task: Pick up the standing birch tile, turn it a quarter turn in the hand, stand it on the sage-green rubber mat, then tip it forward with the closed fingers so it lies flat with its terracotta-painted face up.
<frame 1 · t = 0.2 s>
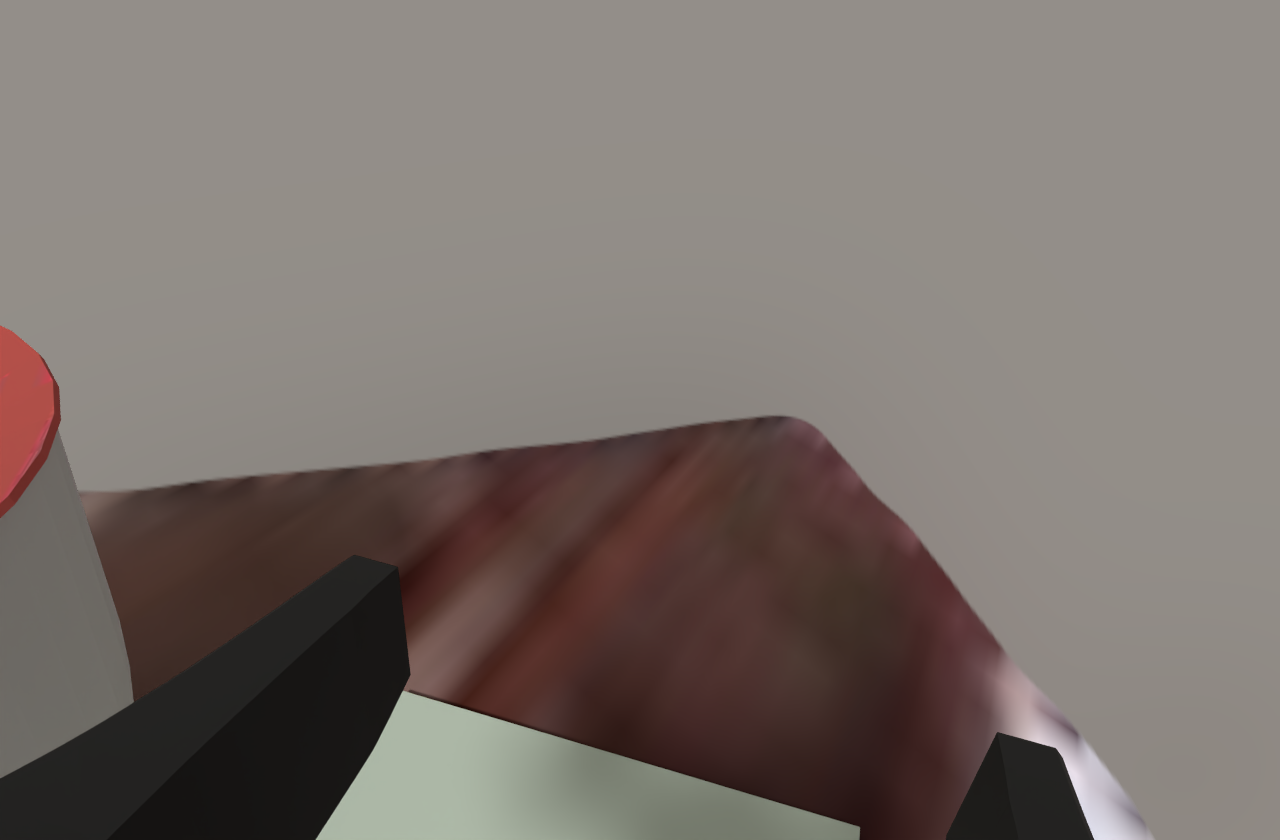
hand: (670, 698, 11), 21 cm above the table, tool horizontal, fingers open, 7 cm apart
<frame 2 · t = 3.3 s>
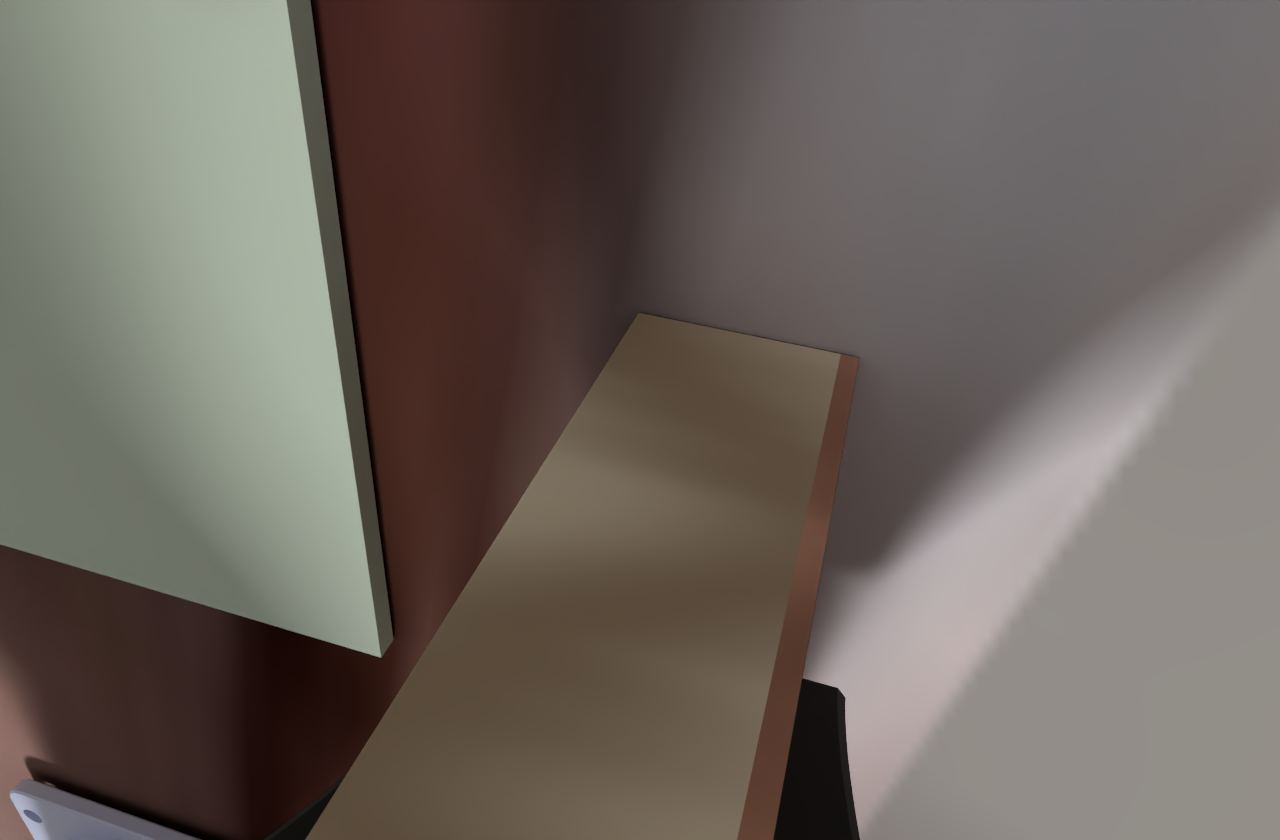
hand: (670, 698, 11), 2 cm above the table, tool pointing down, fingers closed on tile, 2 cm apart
tile: (705, 588, 12), on the table, touching gripper
when the fingers open (3 cm above the table, at t = 6.7 s): tile stays where it is, resting on mat.
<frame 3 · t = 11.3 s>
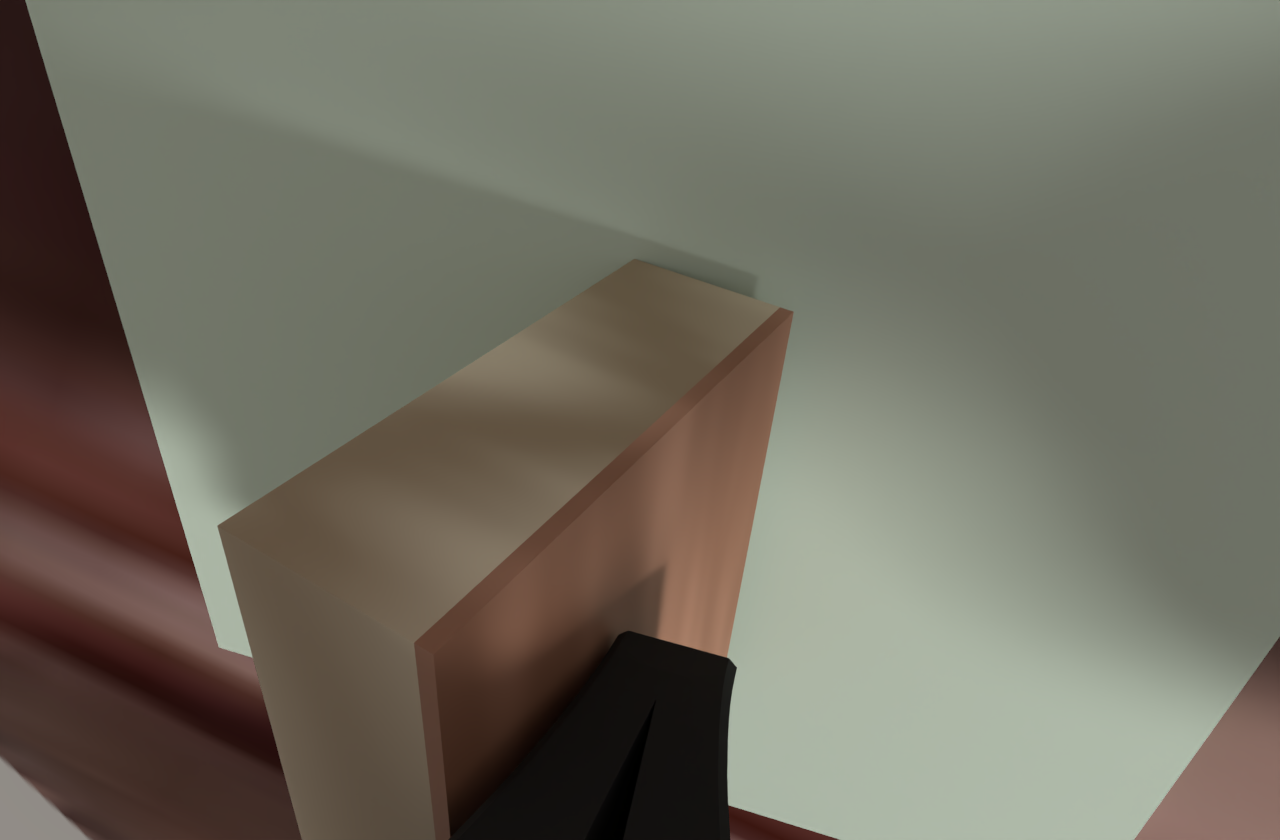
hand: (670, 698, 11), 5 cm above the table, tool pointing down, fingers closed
mat: (643, 432, 15), on the table
tile: (682, 503, 15), point 1 cm above the table, tilted 15°, touching gripper, mat
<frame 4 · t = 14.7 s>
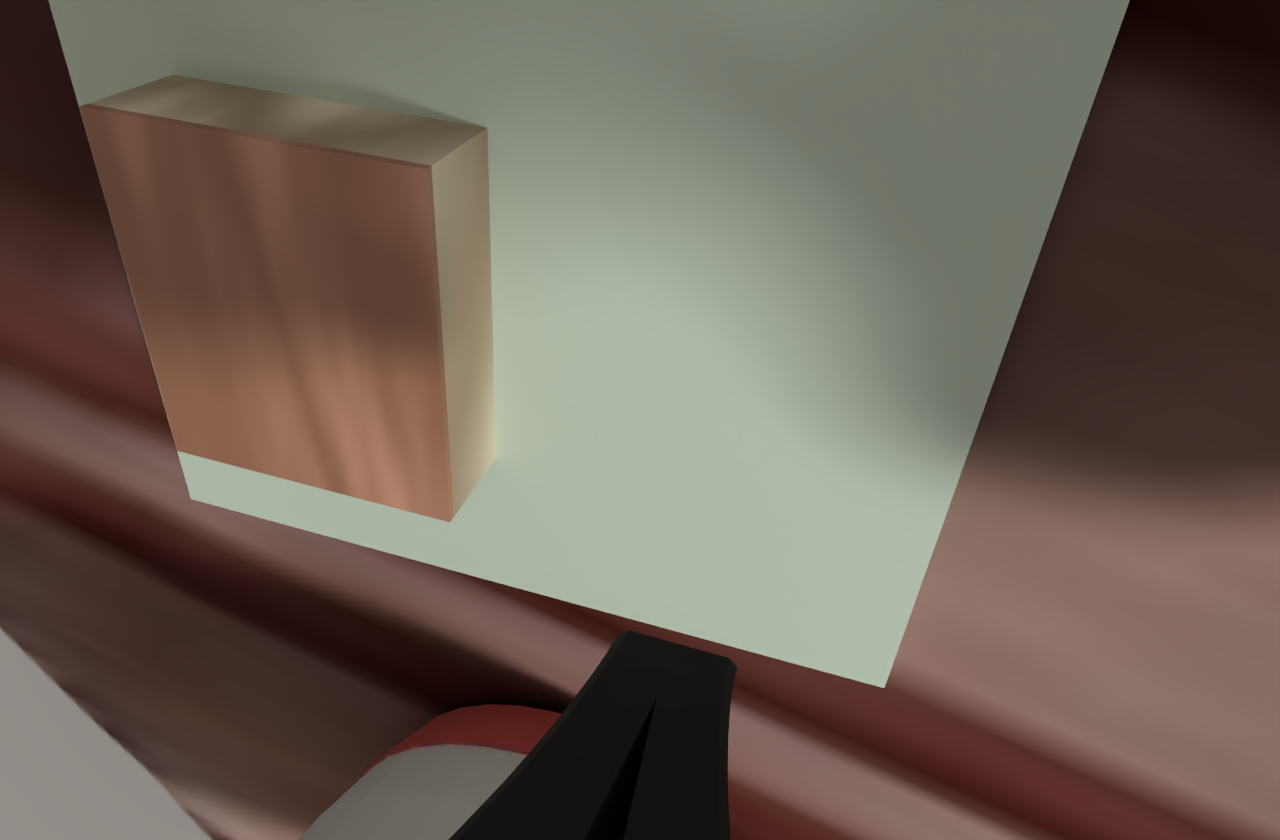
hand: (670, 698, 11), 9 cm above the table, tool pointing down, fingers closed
citrus juicer: (548, 806, 31), on the table
mat: (512, 278, 19), on the table
tile: (467, 339, 19), point 2 cm above the table, tilted 90°, touching mat
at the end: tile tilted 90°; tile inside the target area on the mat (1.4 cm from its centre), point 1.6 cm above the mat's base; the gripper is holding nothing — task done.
